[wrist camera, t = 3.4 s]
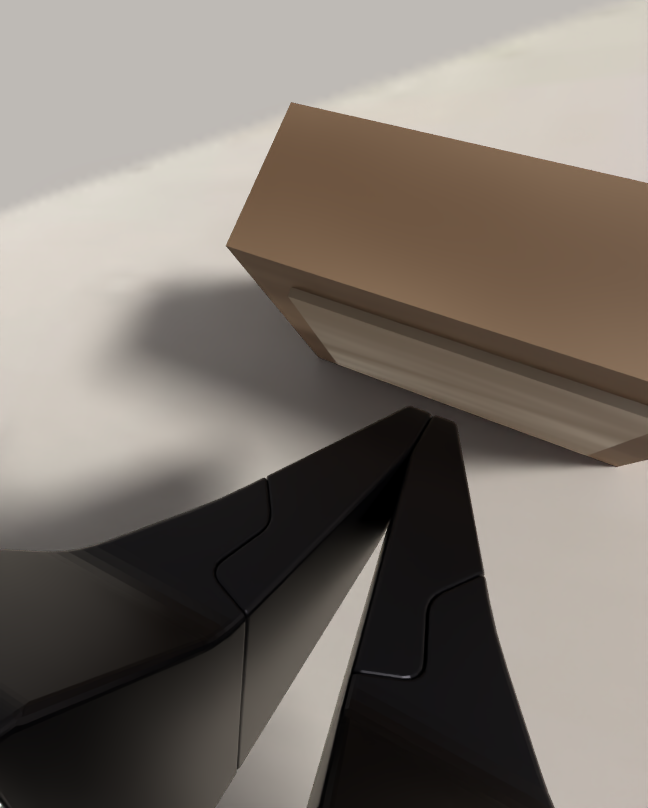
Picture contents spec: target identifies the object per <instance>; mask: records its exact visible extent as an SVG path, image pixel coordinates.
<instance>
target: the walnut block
mask: <svg viewBox="0 0 648 808" xmlns="http://www.w3.org/2000/svg"><path fill="white" fill-rule="evenodd" d="M226 247H227V248H228V249H229V250H230V251H231V253H232V254H233V255H234V256H235V257H236V259H237V260H238V261H239V262H240V263H241V265H242V266H243V267H244V268H245V269H246V271H247V272H248V273H249V274H250V275H251V277H252V278H253V279H254V280H255V281H256V283H257V284H258V285H259V286H260V288H261V289H262V290H263V291H264V292H265V294H266V295H267V296H268V297H269V298H270V300H271V301H272V302H273V303H274V304H275V306H276V307H277V308H278V309H279V310H280V312H281V313H282V314H283V315H284V316H285V318H286V319H287V320H288V321H289V322H290V324H291V325H292V326H293V327H294V328H295V330H296V331H297V332H298V333H299V334H300V336H301V337H302V338H303V339H304V341H305V342H306V343H307V344H308V345H309V347H310V348H311V349H312V350H313V351H314V353H315V354H316V355H317V356H318V357H319V358H322V359H324V360H327V361H330V362H333V363H335V364H338V365H341V366H343V367H346V368H349V369H351V370H354V371H357V372H360V373H362V374H365V375H368V376H370V377H373V378H376V379H379V380H381V381H384V382H387V383H390V384H392V385H395V386H398V387H400V388H403V389H406V390H409V391H411V392H414V393H417V394H419V395H422V396H425V397H428V398H430V399H433V400H436V401H439V402H441V403H444V404H447V405H449V406H452V407H455V408H458V409H460V410H463V411H466V412H468V413H471V414H474V415H477V416H479V417H482V418H485V419H488V420H490V421H493V422H496V423H498V424H501V425H504V426H507V427H509V428H512V429H515V430H517V431H520V432H523V433H526V434H528V435H531V436H534V437H536V438H539V439H542V440H545V441H547V442H550V443H553V444H556V445H558V446H561V447H564V448H566V449H569V450H572V451H575V452H577V453H580V454H583V455H585V456H589V457H591V458H594V459H597V460H599V461H602V462H605V463H608V464H610V465H613V466H616V467H618V466H622V465H627V464H631V463H635V462H639V461H644V460H648V183H645V182H640V181H636V180H631V179H627V178H623V177H618V176H614V175H609V174H605V173H601V172H596V171H592V170H587V169H583V168H579V167H574V166H570V165H565V164H561V163H556V162H552V161H548V160H543V159H539V158H534V157H530V156H526V155H521V154H517V153H512V152H508V151H504V150H499V149H495V148H490V147H486V146H481V145H477V144H473V143H468V142H464V141H459V140H455V139H451V138H446V137H442V136H437V135H433V134H429V133H424V132H420V131H415V130H411V129H406V128H402V127H398V126H393V125H389V124H384V123H380V122H376V121H371V120H367V119H362V118H358V117H354V116H349V115H345V114H340V113H336V112H331V111H327V110H323V109H318V108H314V107H309V106H305V105H301V104H296V103H292V102H291V104H290V106H289V108H288V110H287V112H286V115H285V117H284V119H283V121H282V123H281V126H280V128H279V130H278V132H277V134H276V137H275V139H274V141H273V143H272V145H271V148H270V150H269V152H268V154H267V156H266V159H265V161H264V163H263V165H262V167H261V170H260V172H259V174H258V176H257V178H256V181H255V183H254V185H253V187H252V189H251V192H250V194H249V196H248V198H247V200H246V203H245V205H244V207H243V209H242V211H241V214H240V216H239V218H238V220H237V222H236V225H235V227H234V229H233V231H232V233H231V236H230V238H229V240H228V242H227V244H226Z"/></svg>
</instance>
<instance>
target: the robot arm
mask: <svg viewBox="0 0 648 808" xmlns="http://www.w3.org/2000/svg"><path fill="white" fill-rule="evenodd" d="M387 527H388V528H387ZM386 529H387V531H386ZM385 531H386V534H385V538H384V541H383V544H382V548H381V551H380V555H379V558H378V561H377V565H376V568H375V572H374V575H373V579H372V582H371V586H370V589H369V593H368V596H367V600H366V603H365V607H364V610H363V614H362V617H361V620H360V624H359V627H358V631H357V634H356V638H355V641H354V645H353V648H352V652H351V655H350V659H349V662H348V666H347V669H346V673H345V676H344V679H343V683H342V686H341V690H340V693H339V697H338V700H337V704H336V707H335V711H334V714H333V718H332V721H331V725H330V728H329V732H328V735H327V738H326V742H325V745H324V749H323V752H322V756H321V759H320V763H319V766H318V770H317V773H316V777H315V780H314V784H313V787H312V791H311V794H310V797H309V801H308V804H307V808H554V805H553V803H552V800H551V798H550V796H549V793H548V790H547V787H546V785H545V782H544V779H543V776H542V773H541V770H540V767H539V764H538V761H537V758H536V755H535V752H534V749H533V746H532V742H531V739H530V736H529V733H528V730H527V727H526V724H525V721H524V718H523V715H522V712H521V709H520V706H519V703H518V700H517V697H516V693H515V690H514V687H513V684H512V681H511V678H510V675H509V672H508V669H507V665H506V662H505V659H504V655H503V652H502V648H501V645H500V642H499V638H498V635H497V631H496V626H495V622H494V618H493V613H492V609H491V604H490V600H489V594H488V589H487V583H486V579H485V577H484V569H483V563H482V558H481V552H480V547H479V542H478V536H477V531H476V526H475V520H474V515H473V509H472V504H471V499H470V493H469V488H468V482H467V477H466V472H465V466H464V461H463V455H462V450H461V445H460V439H459V434H458V428H457V425H456V423H454V422H452V421H450V420H447V419H444V418H442V417H439V416H433V417H432V418H431V414H430V413H428V412H426V411H423V410H420V409H418V408H415V407H412V406H408V407H405V408H403V409H401V410H399V411H397V412H395V413H393V414H391V415H389V416H387V417H385V418H383V419H381V420H379V421H377V422H375V423H373V424H371V425H369V426H367V427H365V428H363V429H361V430H359V431H357V432H355V433H353V434H351V435H349V436H347V437H345V438H343V439H341V440H339V441H337V442H335V443H333V444H331V445H329V446H327V447H325V448H323V449H321V450H319V451H317V452H315V453H313V454H311V455H309V456H307V457H305V458H303V459H301V460H299V461H297V462H295V463H293V464H291V465H289V466H286V467H284V468H282V469H280V470H278V471H276V472H274V473H272V474H270V475H268V476H267V479H266V478H262V479H260V480H258V481H256V482H254V483H252V484H250V485H248V486H246V487H244V488H241V489H239V490H237V491H235V492H233V493H231V494H228V495H226V496H224V497H222V498H220V499H217V500H215V501H212V502H210V503H207V504H205V505H202V506H200V507H197V508H195V509H192V510H190V511H187V512H185V513H182V514H179V515H176V516H174V517H171V518H168V519H165V520H163V521H160V522H157V523H155V524H152V525H149V526H146V527H144V528H141V529H138V530H136V531H133V532H130V533H127V534H125V535H122V536H119V537H116V538H114V539H111V540H108V541H105V542H102V543H99V544H96V545H93V546H88V547H84V548H80V549H74V550H68V551H55V552H45V551H26V550H9V549H0V808H215V807H216V805H217V804H218V802H219V800H220V799H221V797H222V796H223V794H224V792H225V791H226V789H227V787H228V786H229V784H230V783H231V781H232V779H233V778H234V776H235V775H236V772H237V769H239V768H240V766H241V765H242V763H243V761H244V760H245V758H246V757H247V755H248V753H249V752H250V750H251V748H252V747H253V745H254V744H255V742H256V740H257V739H258V737H259V736H260V734H261V732H262V731H263V729H264V727H265V726H266V724H267V723H268V721H269V719H270V718H271V716H272V715H273V713H274V711H275V710H276V708H277V706H278V705H279V703H280V702H281V700H282V698H283V697H284V695H285V694H286V692H287V690H288V689H289V687H290V685H291V684H292V682H293V681H294V679H295V677H296V676H297V674H298V673H299V671H300V669H301V668H302V666H303V664H304V663H305V661H306V660H307V658H308V656H309V655H310V653H311V652H312V650H313V648H314V647H315V645H316V643H317V642H318V640H319V639H320V637H321V635H322V634H323V632H324V631H325V629H326V627H327V626H328V624H329V622H330V621H331V619H332V618H333V616H334V614H335V613H336V611H337V610H338V608H339V606H340V605H341V603H342V601H343V600H344V598H345V597H346V595H347V593H348V592H349V590H350V589H351V587H352V585H353V584H354V582H355V580H356V579H357V577H358V576H359V574H360V572H361V571H362V569H363V568H364V566H365V564H366V563H367V561H368V559H369V558H370V556H371V555H372V553H373V551H374V550H375V548H376V547H377V545H378V543H379V542H380V540H381V538H382V536H383V535H384V533H385Z"/></svg>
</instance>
